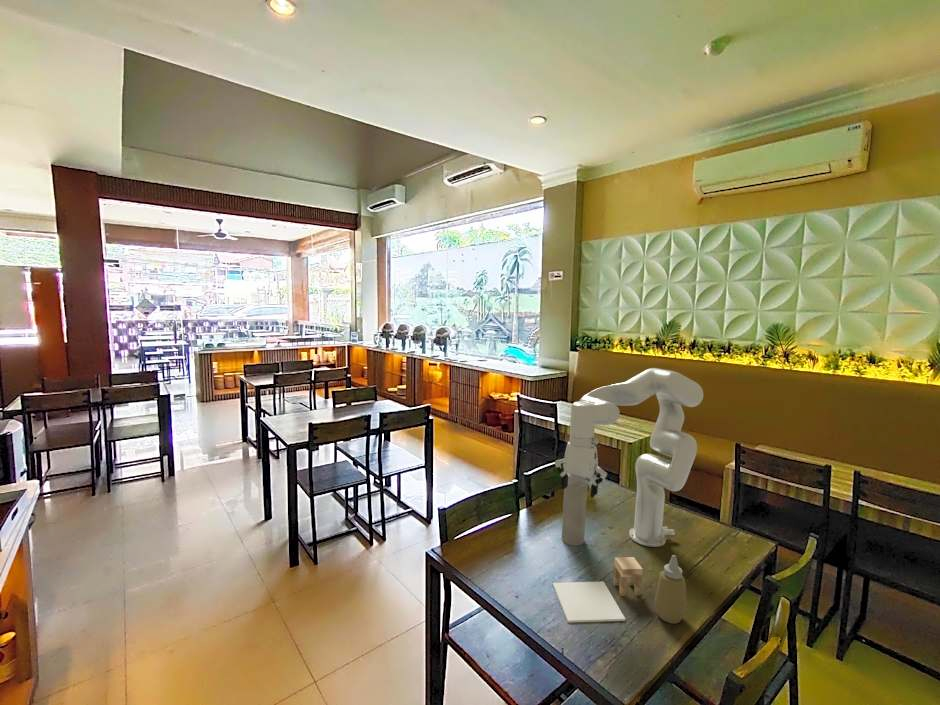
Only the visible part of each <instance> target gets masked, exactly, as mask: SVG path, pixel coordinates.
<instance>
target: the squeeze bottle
mask: <svg viewBox="0 0 940 705" xmlns="http://www.w3.org/2000/svg"><path fill="white" fill-rule="evenodd" d="M686 584H687V583H686V579H685V577H684V576H683V569H682V568H681V567H680V566H679V563H678V557H677V555H675V554H672V555H671V557H670V560H669V562H668V563H667V564H665V565H664V566H663V570H662V571H661V572H659V578H658V581H657V587H656V591H655V597H654V601H653V602H654V605H655V608H656V612H657V615H658V617H659V618H660V619H661V620H662V621H664V622H666V623H669V624H673V625H675V624H679V623H680V622H681V621H682V619H683V617H684V615H685V614H686V612H687V591H686V590H687V589H686V588H687V586H686Z"/></svg>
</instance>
